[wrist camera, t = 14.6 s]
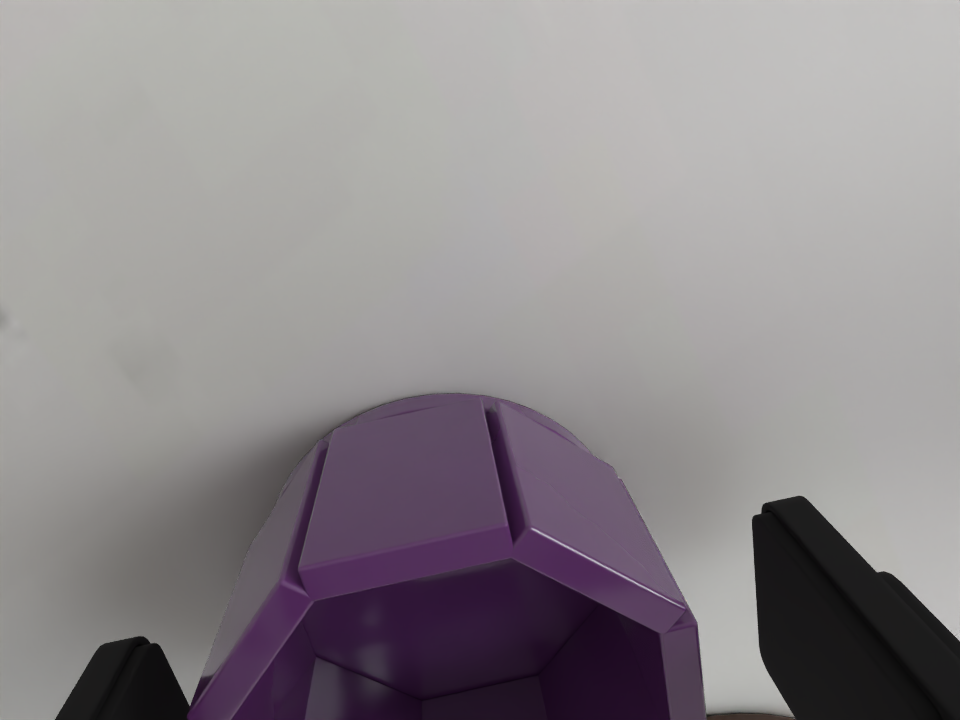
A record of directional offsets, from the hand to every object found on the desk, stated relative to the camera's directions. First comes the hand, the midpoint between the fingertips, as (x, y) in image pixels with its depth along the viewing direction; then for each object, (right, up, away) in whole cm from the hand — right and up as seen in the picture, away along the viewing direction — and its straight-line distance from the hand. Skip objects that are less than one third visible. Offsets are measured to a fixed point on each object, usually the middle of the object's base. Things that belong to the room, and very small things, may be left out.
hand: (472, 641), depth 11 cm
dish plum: (0, +1, +2) cm, 2 cm away
